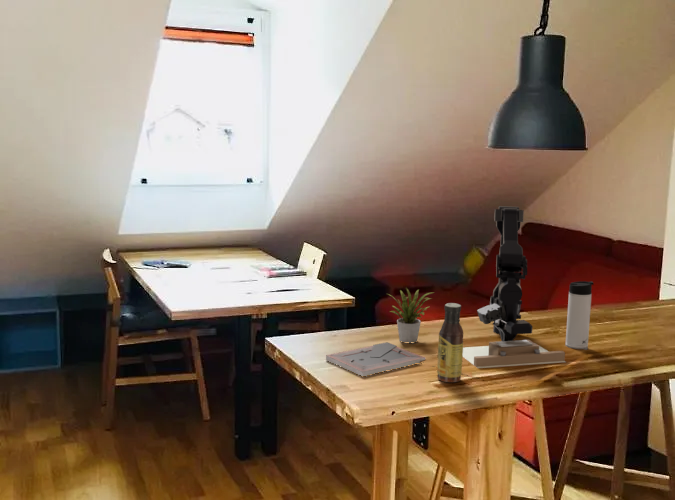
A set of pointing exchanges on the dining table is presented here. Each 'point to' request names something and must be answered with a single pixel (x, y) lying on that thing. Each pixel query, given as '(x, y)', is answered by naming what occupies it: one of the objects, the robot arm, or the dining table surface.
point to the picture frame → (374, 359)
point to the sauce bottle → (450, 345)
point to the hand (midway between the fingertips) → (505, 349)
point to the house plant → (409, 317)
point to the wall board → (510, 357)
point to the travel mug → (578, 314)
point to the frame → (512, 347)
